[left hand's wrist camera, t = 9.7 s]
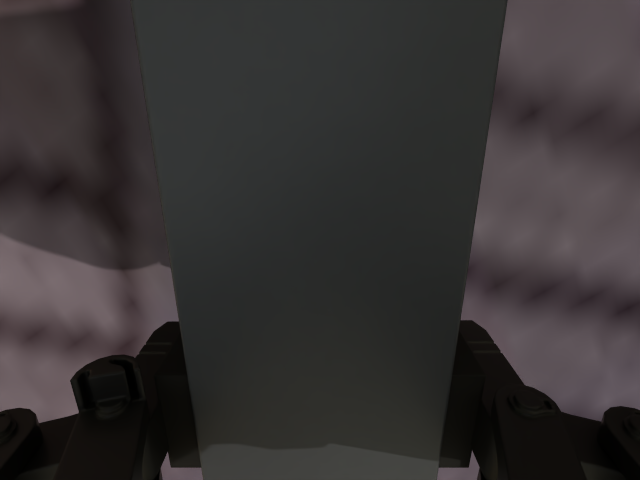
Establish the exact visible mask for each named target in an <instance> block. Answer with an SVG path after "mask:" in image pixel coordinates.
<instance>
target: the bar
mask: <svg viewBox="0 0 640 480" xmlns="http://www.w3.org/2000/svg"><path fill="white" fill-rule="evenodd" d="M130 3H131V10H132V16H133V23H134V29H135V36H136V42H137V49H138V55H139V62H140V69H141V75H142V82H143V88H144V95H145V101H146V108H147V114H148V121H149V128H150V134H151V141H152V147H153V154H154V160H155V167H156V173H157V180H158V186H159V193H160V200H161V206H162V213H163V219H164V226H165V232H166V239H167V245H168V252H169V259H170V265H171V272H172V278H173V285H174V291H175V298H176V304H177V311H178V318H179V324H180V331H181V337H182V344H183V350H184V357H185V363H186V370H187V377H188V383H189V390H190V396H191V403H192V409H193V416H194V422H195V429H196V436H197V442H198V449H199V455H200V462H201V468H202V475H203V480H437V474H438V468H439V461H440V454H441V447H442V441H443V434H444V427H445V420H446V413H447V407H448V400H449V393H450V386H451V380H452V373H453V366H454V359H455V352H456V346H457V339H458V332H459V325H460V319H461V312H462V305H463V298H464V291H465V285H466V278H467V271H468V264H469V258H470V251H471V244H472V237H473V230H474V224H475V217H476V210H477V203H478V197H479V190H480V183H481V176H482V169H483V163H484V156H485V149H486V142H487V136H488V129H489V122H490V115H491V108H492V102H493V95H494V88H495V81H496V75H497V68H498V61H499V54H500V47H501V41H502V34H503V27H504V20H505V14H506V7H507V0H130Z"/></svg>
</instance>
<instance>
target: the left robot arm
mask: <svg viewBox="0 0 640 480" xmlns="http://www.w3.org/2000/svg"><path fill="white" fill-rule="evenodd" d="M70 382H71V385H72V389H73V392H74V396H75V399H76V403H77V406H78V410H79V413H78V414H75V415H72V416H68V417H64V418H60V419H55V420H51V421H47V422H42V423H39V422H38V419H37V416H36V414H35V413H34V412H33V411H31V410H30V409H24V408H15V409H9V410H4V411H2V412H0V480H163V479H162V473H161V466H162V463H163V461H164V459H165V456H166V454H167V452H168V454H169V460H170V465H171V467H201V462H200V455H199V449H198V442H197V436H196V429H195V422H194V416H193V409H192V403H191V396H190V390H189V383H188V377H187V370H186V363H185V357H184V350H183V344H182V337H181V331H180V324H179V322H166V323H165V324H164V325H162V326H161V327H159V328H158V329H157V330H155V331H154V332H153V334H152V335H151V336H150V338H149V339H148V341H147V342H146V345H144V346H143V348H142V349H141V351H140V352H139V355H137V356H136V358H134V357H132V356H128V355H112V356H108V357H104V358H100V359H98V360H95V361H93V362H91V363H89V364H87V365H85V366H84V367H83V368H81V369H80V370H79V371H77V372H76V374H75V375H74V376H73V378H72V379H71V380H70ZM472 451H473V453H474V455H475V458H476V460H477V462H478V464H479V467H480V468H479V473H478V478H477V480H640V410H638V409H635V408H629V407H623V406H619V407H611V408H609V409H608V410H607V411H605V412H604V415H603V418H602V421H601V422H600V421H596V420H591V419H587V418H583V417H579V416H574V415H570V414H567V413H564V412H561V411H560V409H559V407H558V406H557V404H556V403H555V402H554V401H553V400H552V399H551V398H549V397H548V396H547V395H546V394H544V393H542V392H540V391H538V390H537V389H535V388H532V387H529V386H525V385H524V383H523V382H522V381H521V379H520V378H519V376H518V375H517V374H516V372H515V371H514V369H513V368H512V366H511V365H510V364H509V362H508V361H507V359H506V358H505V357H504V355H503V354H502V353H501V352H500V350H499V348H498V347H497V345H496V344H494V341H493V340H492V338H491V337H490V335H489V334H488V333H487V331H486V330H485V329H483V328H482V327H481V326H479V325H478V324H476V323H475V322H474V321H472V320H460V325H459V332H458V339H457V346H456V352H455V359H454V366H453V373H452V380H451V386H450V393H449V400H448V407H447V413H446V420H445V427H444V434H443V441H442V447H441V454H440V461H439V467H469V463H470V458H471V452H472Z"/></svg>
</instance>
